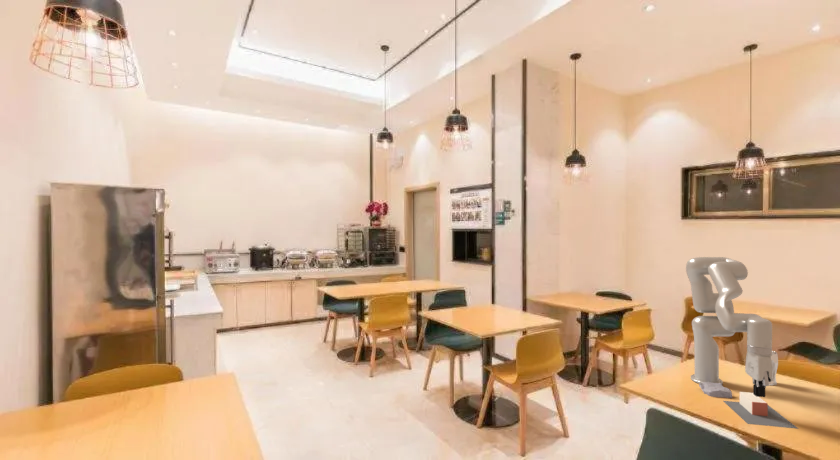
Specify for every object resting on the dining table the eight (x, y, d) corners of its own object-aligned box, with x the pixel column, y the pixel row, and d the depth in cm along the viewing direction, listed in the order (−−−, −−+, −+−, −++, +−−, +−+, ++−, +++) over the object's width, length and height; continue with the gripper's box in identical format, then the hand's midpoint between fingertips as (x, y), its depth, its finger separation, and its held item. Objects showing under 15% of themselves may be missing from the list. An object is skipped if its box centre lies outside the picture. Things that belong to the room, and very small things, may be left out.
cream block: (752, 414, 158) (739, 403, 167) (767, 416, 156) (753, 404, 166) (752, 402, 158) (739, 391, 167) (767, 403, 156) (753, 392, 166)
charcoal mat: (722, 402, 170) (722, 400, 170) (767, 406, 166) (767, 404, 166) (747, 425, 151) (747, 423, 151) (798, 430, 147) (798, 428, 147)
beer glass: (776, 381, 191) (776, 350, 190) (779, 387, 185) (779, 355, 184) (757, 379, 194) (757, 348, 194) (760, 384, 188) (760, 352, 188)
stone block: (710, 403, 174) (735, 400, 172) (707, 392, 174) (732, 389, 172) (696, 392, 186) (720, 389, 184) (694, 382, 186) (717, 379, 184)
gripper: (738, 343, 165) (738, 387, 166) (758, 355, 151) (758, 403, 151) (760, 344, 163) (759, 389, 164) (782, 357, 149) (782, 405, 149)
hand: (759, 395), depth 157 cm, fingers closed
